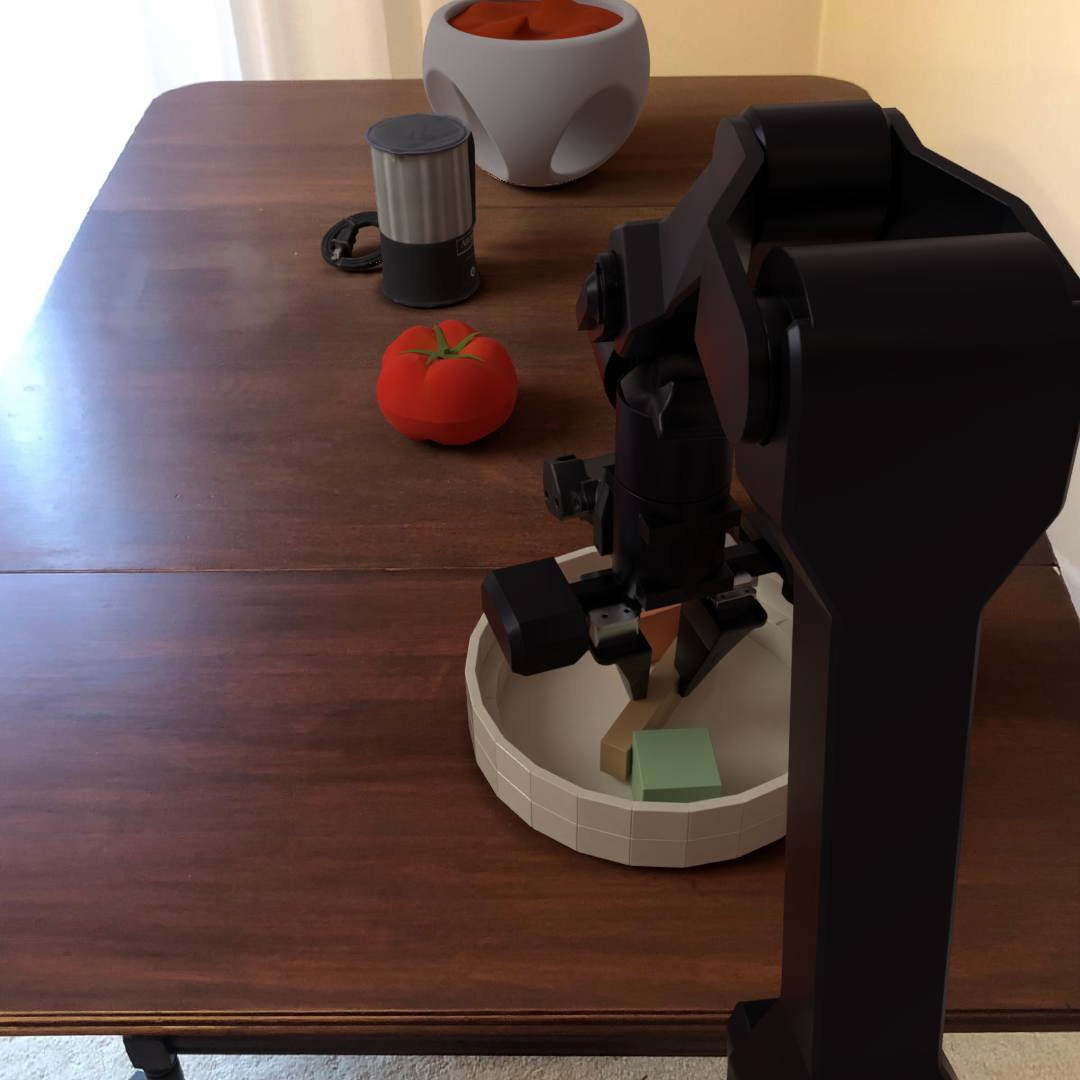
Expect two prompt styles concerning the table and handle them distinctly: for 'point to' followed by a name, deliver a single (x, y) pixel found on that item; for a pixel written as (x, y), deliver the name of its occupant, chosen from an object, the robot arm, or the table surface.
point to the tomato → (446, 384)
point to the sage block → (674, 766)
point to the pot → (539, 82)
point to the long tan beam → (641, 716)
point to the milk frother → (417, 211)
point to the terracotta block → (660, 628)
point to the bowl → (717, 703)
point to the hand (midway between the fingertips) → (658, 697)
